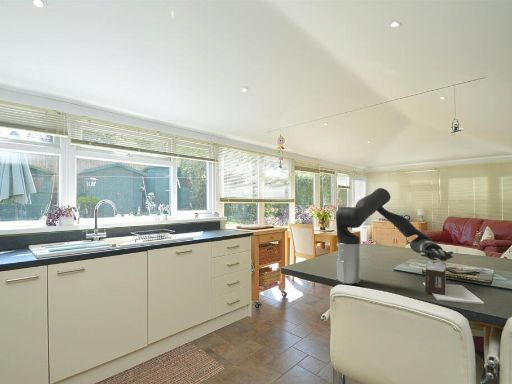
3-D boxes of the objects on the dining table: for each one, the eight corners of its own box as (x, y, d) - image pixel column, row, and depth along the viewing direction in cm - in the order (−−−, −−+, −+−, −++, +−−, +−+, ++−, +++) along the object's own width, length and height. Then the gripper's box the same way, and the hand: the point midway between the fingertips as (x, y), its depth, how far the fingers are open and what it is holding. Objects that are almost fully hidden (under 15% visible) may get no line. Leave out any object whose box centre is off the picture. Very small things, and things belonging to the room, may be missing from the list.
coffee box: (446, 283, 112) (445, 296, 99) (428, 280, 116) (424, 292, 103) (446, 262, 112) (445, 272, 99) (428, 259, 116) (424, 269, 103)
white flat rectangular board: (423, 283, 114) (423, 282, 114) (461, 286, 109) (461, 285, 110) (437, 300, 97) (437, 298, 97) (484, 304, 92) (484, 302, 92)
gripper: (414, 241, 127) (425, 248, 111) (446, 242, 123) (463, 250, 107) (415, 257, 127) (425, 266, 111) (447, 258, 123) (463, 268, 107)
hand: (444, 258), depth 109 cm, fingers closed
